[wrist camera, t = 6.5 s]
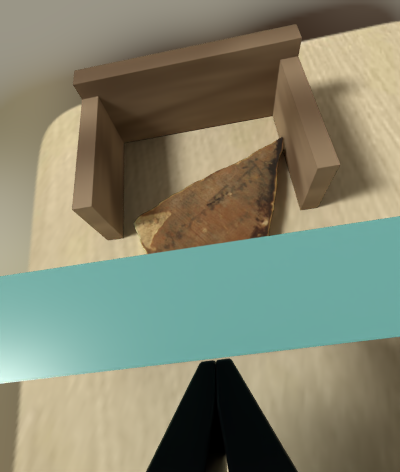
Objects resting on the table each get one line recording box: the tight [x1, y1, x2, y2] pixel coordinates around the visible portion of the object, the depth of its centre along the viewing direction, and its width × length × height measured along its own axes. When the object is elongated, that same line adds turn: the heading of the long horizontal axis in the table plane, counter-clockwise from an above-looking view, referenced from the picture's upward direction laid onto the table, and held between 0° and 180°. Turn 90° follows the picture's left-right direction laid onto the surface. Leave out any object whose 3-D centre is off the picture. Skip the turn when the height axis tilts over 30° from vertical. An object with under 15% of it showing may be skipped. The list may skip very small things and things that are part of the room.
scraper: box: [0, 216, 400, 383], centre depth 9 cm, size 2×12×10 cm, turn 96°
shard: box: [134, 137, 283, 254], centre depth 16 cm, size 11×8×2 cm
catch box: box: [72, 24, 340, 240], centre depth 16 cm, size 9×13×5 cm
